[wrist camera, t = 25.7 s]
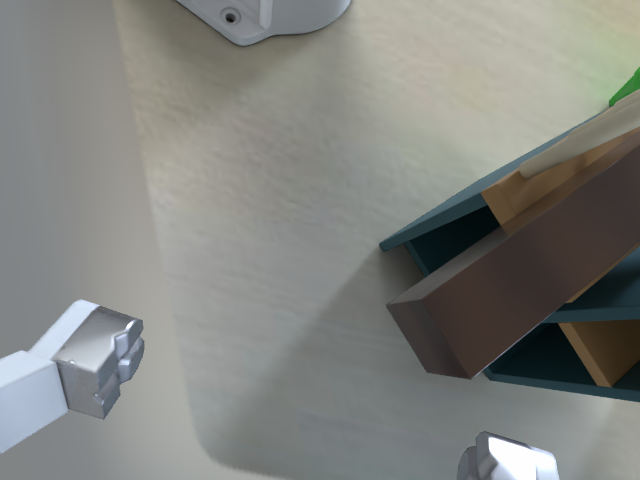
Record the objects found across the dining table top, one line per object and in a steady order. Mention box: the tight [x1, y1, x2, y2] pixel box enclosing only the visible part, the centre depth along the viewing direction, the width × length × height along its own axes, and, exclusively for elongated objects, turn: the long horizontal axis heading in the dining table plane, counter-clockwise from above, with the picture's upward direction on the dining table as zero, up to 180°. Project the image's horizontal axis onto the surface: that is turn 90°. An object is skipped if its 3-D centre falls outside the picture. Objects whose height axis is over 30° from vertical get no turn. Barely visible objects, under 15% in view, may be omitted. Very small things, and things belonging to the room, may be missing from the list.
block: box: [386, 130, 640, 379], centre depth 23 cm, size 22×4×4 cm, turn 123°
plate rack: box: [379, 89, 640, 402], centre depth 28 cm, size 12×15×26 cm
